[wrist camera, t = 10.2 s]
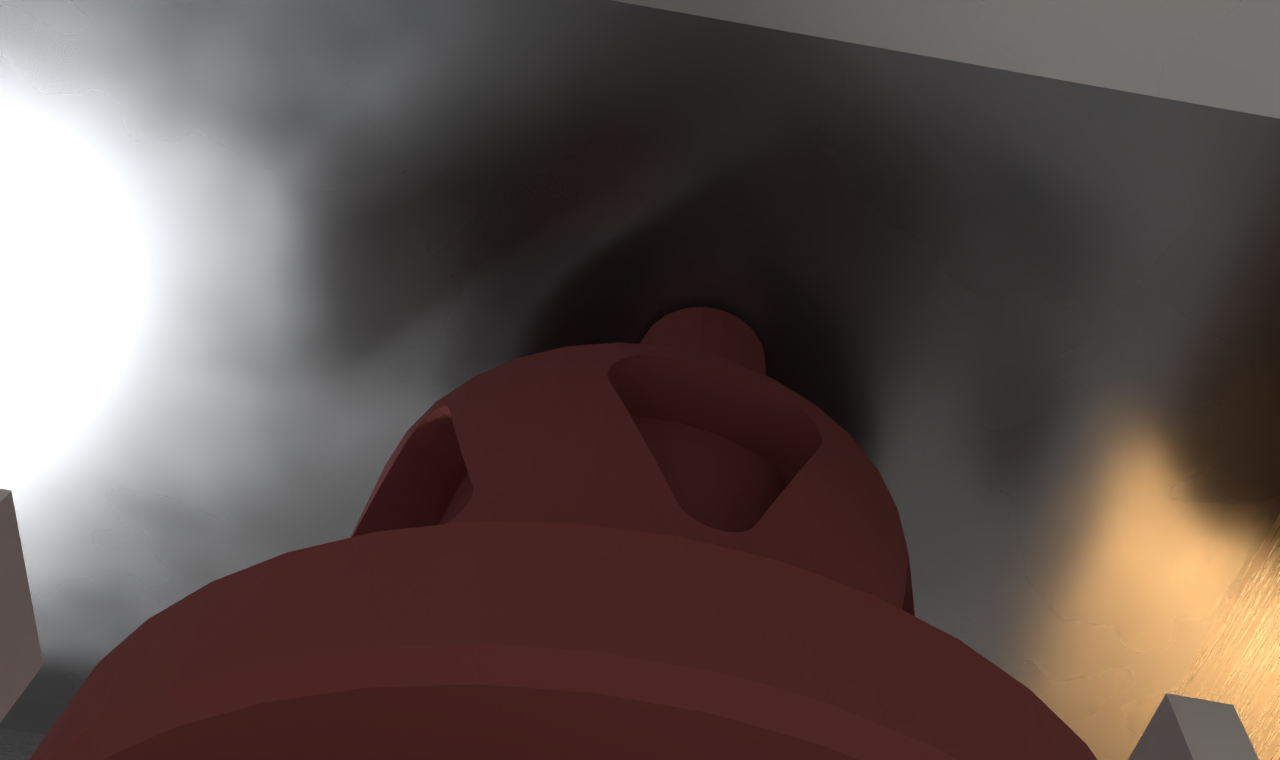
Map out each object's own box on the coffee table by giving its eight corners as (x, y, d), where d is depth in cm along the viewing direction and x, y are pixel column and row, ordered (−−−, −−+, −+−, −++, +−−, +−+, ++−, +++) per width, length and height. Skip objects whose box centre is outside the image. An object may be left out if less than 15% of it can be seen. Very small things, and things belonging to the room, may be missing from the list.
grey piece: (-28, 735, 22) (-225, 996, 18) (-316, -456, 12) (-936, -544, 8) (1077, 928, 22) (1157, 1236, 18) (1700, -97, 12) (2241, 20, 8)
